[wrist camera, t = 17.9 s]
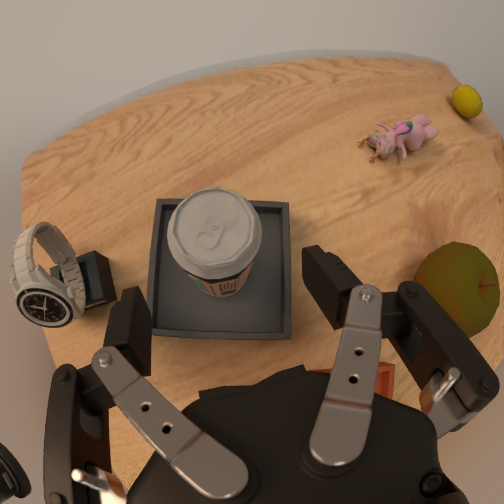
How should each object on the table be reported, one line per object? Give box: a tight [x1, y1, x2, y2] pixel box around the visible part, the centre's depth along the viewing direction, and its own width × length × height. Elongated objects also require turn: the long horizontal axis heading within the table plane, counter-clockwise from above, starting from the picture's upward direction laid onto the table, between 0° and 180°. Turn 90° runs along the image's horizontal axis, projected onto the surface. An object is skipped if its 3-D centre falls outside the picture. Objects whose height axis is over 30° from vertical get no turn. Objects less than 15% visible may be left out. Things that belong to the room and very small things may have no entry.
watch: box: [10, 222, 117, 328], centre depth 18 cm, size 6×8×11 cm
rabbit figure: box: [358, 114, 438, 163], centre depth 28 cm, size 6×6×15 cm
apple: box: [413, 242, 500, 338], centre depth 21 cm, size 10×10×11 cm
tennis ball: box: [452, 85, 483, 118], centre depth 33 cm, size 7×7×7 cm
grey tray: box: [147, 199, 291, 340], centre depth 24 cm, size 12×12×2 cm
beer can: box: [167, 187, 262, 297], centre depth 18 cm, size 5×5×12 cm
